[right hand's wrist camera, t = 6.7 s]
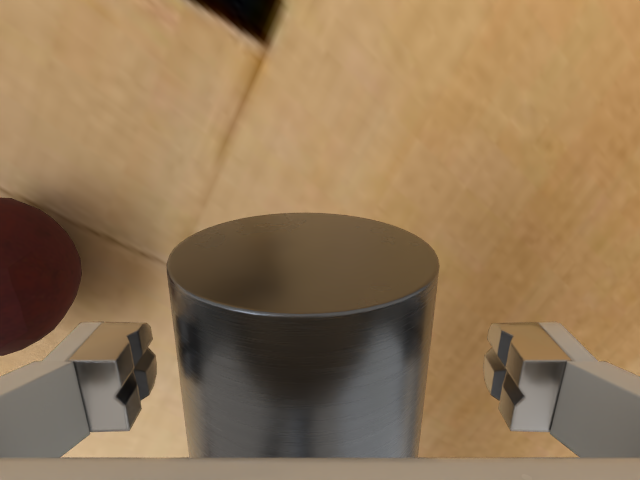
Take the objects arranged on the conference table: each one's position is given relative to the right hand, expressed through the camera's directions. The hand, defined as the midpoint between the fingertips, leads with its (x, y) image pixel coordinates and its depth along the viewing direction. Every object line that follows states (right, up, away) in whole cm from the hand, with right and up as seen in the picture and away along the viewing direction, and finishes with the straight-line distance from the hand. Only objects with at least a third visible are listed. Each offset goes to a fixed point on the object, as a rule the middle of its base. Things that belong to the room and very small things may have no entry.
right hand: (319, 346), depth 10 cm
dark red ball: (-16, +2, +13) cm, 21 cm away
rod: (0, -10, +7) cm, 12 cm away
